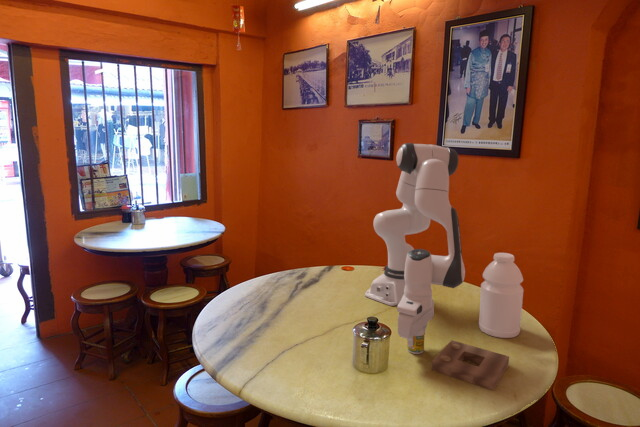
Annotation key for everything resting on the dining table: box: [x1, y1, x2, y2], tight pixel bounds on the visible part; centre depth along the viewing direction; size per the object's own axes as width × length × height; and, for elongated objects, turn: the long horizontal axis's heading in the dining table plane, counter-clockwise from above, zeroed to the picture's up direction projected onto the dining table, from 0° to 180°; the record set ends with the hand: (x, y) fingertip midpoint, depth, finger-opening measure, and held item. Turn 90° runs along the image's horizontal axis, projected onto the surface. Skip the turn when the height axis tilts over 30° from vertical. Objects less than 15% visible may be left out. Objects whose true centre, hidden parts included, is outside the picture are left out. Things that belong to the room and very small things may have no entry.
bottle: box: [478, 252, 525, 339], centre depth 155 cm, size 14×14×28 cm
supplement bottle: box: [407, 326, 426, 355], centre depth 143 cm, size 5×5×10 cm
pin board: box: [431, 339, 510, 391], centre depth 133 cm, size 18×16×3 cm
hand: (416, 340), depth 143 cm, fingers open, 7 cm apart
